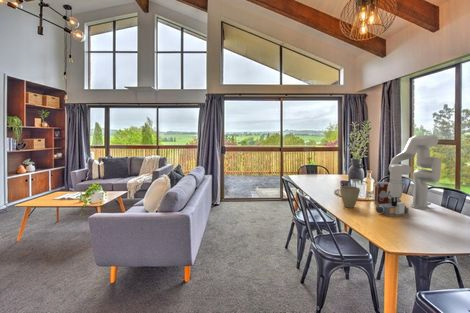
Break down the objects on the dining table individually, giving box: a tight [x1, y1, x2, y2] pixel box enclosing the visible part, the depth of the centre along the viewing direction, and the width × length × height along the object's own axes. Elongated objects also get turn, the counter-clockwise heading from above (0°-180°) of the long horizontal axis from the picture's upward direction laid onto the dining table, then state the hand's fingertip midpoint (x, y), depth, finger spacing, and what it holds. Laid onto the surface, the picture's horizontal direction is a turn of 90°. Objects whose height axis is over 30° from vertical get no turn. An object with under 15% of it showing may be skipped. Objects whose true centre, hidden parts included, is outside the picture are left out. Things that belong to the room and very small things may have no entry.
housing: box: [375, 203, 409, 217], centre depth 192 cm, size 21×11×7 cm, turn 104°
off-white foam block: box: [395, 201, 406, 214], centre depth 188 cm, size 7×2×8 cm, turn 104°
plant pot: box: [340, 185, 361, 209], centre depth 209 cm, size 15×15×16 cm
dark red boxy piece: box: [374, 181, 402, 206], centre depth 211 cm, size 9×19×20 cm, turn 78°
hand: (394, 206), depth 187 cm, fingers closed
